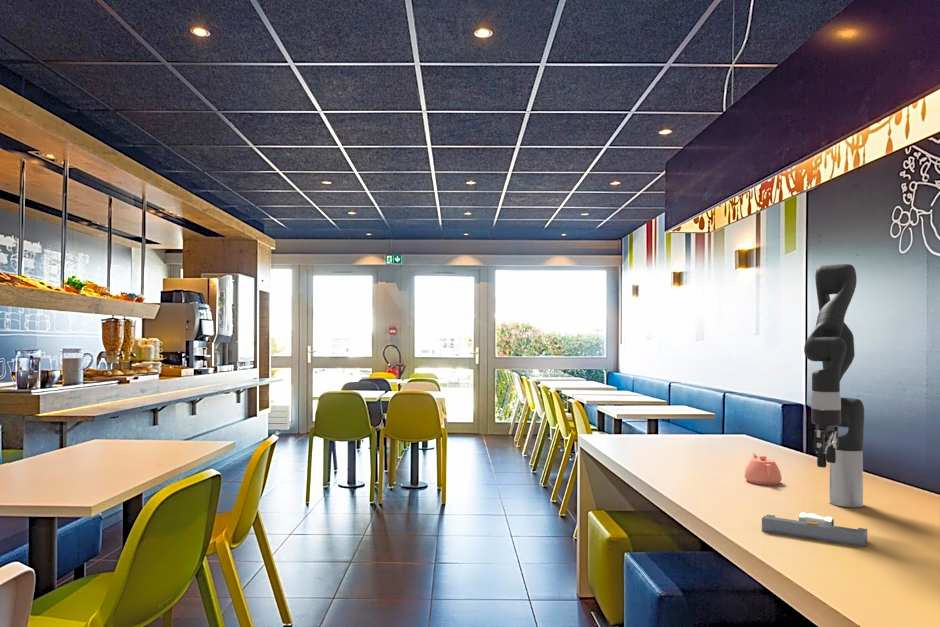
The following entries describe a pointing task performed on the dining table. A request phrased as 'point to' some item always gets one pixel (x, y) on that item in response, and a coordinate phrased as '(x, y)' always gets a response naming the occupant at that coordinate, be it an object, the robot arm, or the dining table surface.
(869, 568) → the dining table surface
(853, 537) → the stop bracket
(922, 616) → the dining table surface
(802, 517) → the pipe fitting
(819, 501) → the dining table surface
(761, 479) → the pink rounded piece
